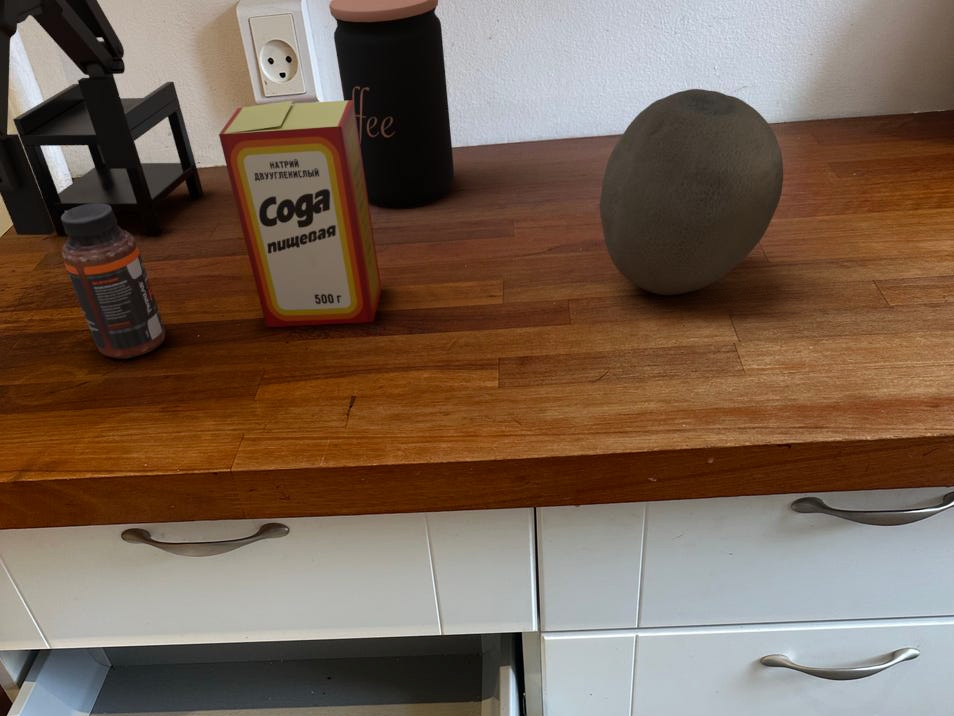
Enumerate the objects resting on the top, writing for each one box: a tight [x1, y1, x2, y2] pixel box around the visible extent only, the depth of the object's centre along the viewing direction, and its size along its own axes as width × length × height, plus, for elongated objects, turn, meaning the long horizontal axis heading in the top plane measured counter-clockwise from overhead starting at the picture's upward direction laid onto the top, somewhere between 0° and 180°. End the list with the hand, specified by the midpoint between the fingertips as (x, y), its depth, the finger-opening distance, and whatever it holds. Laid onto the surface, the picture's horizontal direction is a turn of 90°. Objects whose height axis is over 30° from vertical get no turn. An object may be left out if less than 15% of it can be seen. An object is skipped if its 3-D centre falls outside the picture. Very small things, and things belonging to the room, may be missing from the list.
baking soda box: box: [218, 99, 383, 328], centre depth 79 cm, size 10×6×16 cm
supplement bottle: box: [61, 203, 166, 360], centre depth 78 cm, size 6×6×11 cm
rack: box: [12, 81, 205, 237], centre depth 101 cm, size 12×12×12 cm
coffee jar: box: [328, 0, 455, 208], centre depth 98 cm, size 11×11×18 cm
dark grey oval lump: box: [599, 88, 784, 296], centre depth 78 cm, size 14×14×15 cm
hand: (83, 198), depth 74 cm, fingers open, 13 cm apart
